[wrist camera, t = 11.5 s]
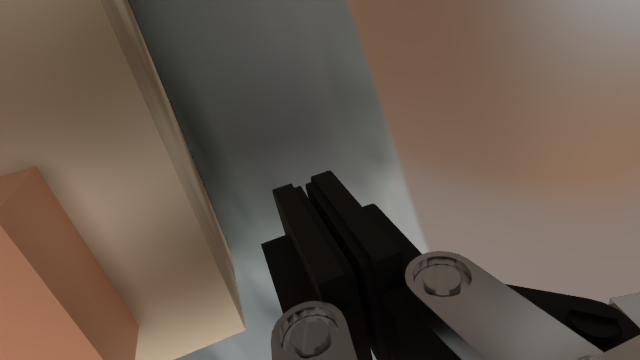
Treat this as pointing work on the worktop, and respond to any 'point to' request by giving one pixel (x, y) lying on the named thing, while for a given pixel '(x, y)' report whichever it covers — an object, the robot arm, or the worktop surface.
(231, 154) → the worktop surface
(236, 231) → the worktop surface
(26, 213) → the tile
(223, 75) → the worktop surface
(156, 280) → the bench plate
